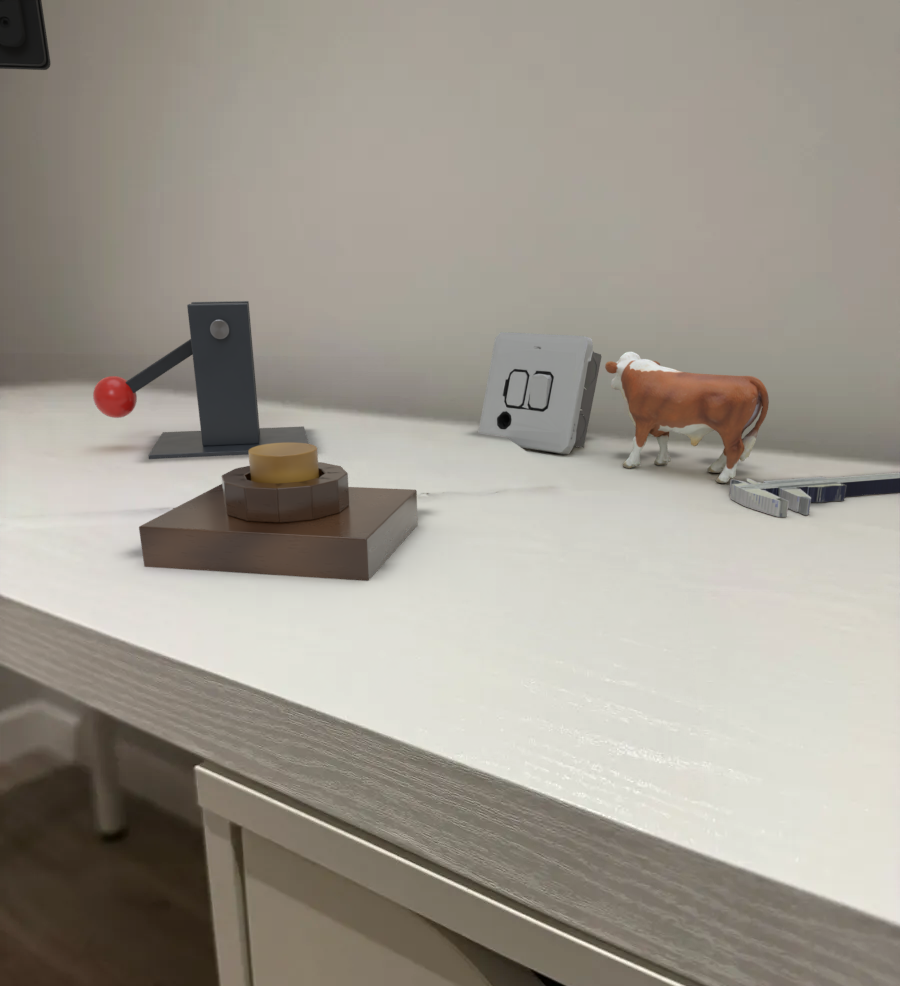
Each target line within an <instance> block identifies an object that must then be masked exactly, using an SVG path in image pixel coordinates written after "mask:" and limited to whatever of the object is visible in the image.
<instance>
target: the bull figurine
mask: <svg viewBox="0 0 900 986" xmlns="http://www.w3.org/2000/svg"><path fill="white" fill-rule="evenodd" d="M604 368H605V371H606V372H607V373H609V374H615V376H614V378H612V379H611V381H610V388H611V389H614V390H615V391H620V393H621V395H622V399H624V401H625V402H626V405H627V414H628V417H629V419H630V420H631V422H632V424H633V426H634V428H635V432H634V433H635V434H634V437H633V439H632V449H631V452H630V454H629V455H628V458H626V460H625V461H624V462H623V463H622V464H621V465H622V467H623V468H625V469H632V468H635V467H636V466H640V465H641V462H642V461H641V452H642V450H643V448H644V447H645V445H647V440H648V437H651V438H656V441H657V444H658V446H659V447H658V448H659V451H658V455H657V456H656V458H655V461H654V462H653V464H654V465H657V466H664V465H667V464H668V463H670V462H672V457H671V455H670V452H669V449H668V442H669V440H670V432H673V433H676V434H680V435H683V436H686V437H687V438H689V440H690V445H691V446H693V447H696V446H698V445H699V443H700V442H701V441H702V439H703V438H704V437H705V436H706V435H708V434H710V433H712V432H713V431H715V432H717V434H718V435H719V436H720V438H721V441H722V444H723V447H724V448H723V450H722V452H721V454H720V456H719V457H718V458H717V459H716V460H715V461H714V462H713V463H712V464H711V465H710V466H708V468H707V472H708V473H713V474H719V473H720V474H719V476H717V478H716V479H715V482H716V483H719V484H727V483H729V482H730V480H731V479H734V478H735V477H736V475H737V467H738V464H739V462H744V461H745V460H747V458H749V457H750V455H751V452H752V451H753V448H754V446H755V443H756V441H757V438H758V432H759V430H760V427H762V424H763V423H764V422H765V419H766V417H767V414H768V410H769V403H770V401H769V394H768V393H769V392H768V390H767V388H766V386H765V384H764V382H762V381H761V380H760V379H759V378H758V377H756V376H753V375H730V374H713V373H711V374H710V373H695V372H687V371H681V370H678V369H675V368H672V367H667V366H662V365H661V363H660V362H659V361H658V360H657V361H656V360H651V359H648V358H641V356H640V355H639V354H638V353H636V352H634V351H625V353H623V354H622V355H621V356H619V359H618V360H617V361H607V362H606V363H605V365H604ZM758 416H759V417H758ZM756 419H757V420H756ZM755 420H756V422H755V423H754V421H755ZM753 423H754V426H753V427H752V429H751V430H749V432H747V433H746V434H745V435H744V437H743V434H744V432H745V431H746V430H747V429H748V428H749V427H750V426H752V424H753Z"/></svg>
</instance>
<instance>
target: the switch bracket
mask: <svg viewBox="0 0 900 986" xmlns="http://www.w3.org/2000/svg"><path fill="white" fill-rule="evenodd" d="M186 306H187V307H186V308H187V315H188V317H187V318H188V326H189V334H190V339H191V345H192V361H193V372H194V379H195V380H194V381H195V389H196V397H197V407H198V417H199V426H200V430H184V431H163V432H162V433H160V435H159V437H158V439H157V440H156V443H155V444H154V445H153V447H152V449H151V450H150V452H149V454H148V460H160V459H162V460H163V459H164V460H165V459H180V458H181V459H182V458H183V459H184V458H185V459H186V458H204V457H207V458H208V457H226V456H245V455H246V456H249V453H248V451H249V449H251V448H253V447H255V446H259V445H264V444H272V443H306V444H309V440H308V437H307V433H306V429H305V426H304V425H303V426H301V425H300V426H278V427H277V426H276V427H260V418H259V416H260V415H259V407H258V406H259V405H258V394H257V382H256V371H255V361H254V360H255V359H254V348H253V338H252V337H253V335H252V324H251V313H250V312H251V311H250V302H249V300H232V301H231V300H230V301H229V300H228V301H227V300H226V301H223V300H222V301H219V300H218V301H191V302H190V303H188V304H187V305H186Z"/></svg>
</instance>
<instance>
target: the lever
mask: <svg viewBox="0 0 900 986" xmlns="http://www.w3.org/2000/svg"><path fill="white" fill-rule="evenodd" d="M191 356H193V354H192V345H191V338H190V339H187V340H186V341H185V342H183V343H182V344H181V345H179V346H178V347H176V348H175V349H173V350H171V351H170V352H168V353H167V354H165V355H164V356H162V357H161V358H159V359H158V360H156V361H154V362H153V363H152V364H150V365H149V366H147V367H146V368H143V370H141V371H139V372H138V373H137V374H135V375H134V376H132V377H131V378H129V379H125V378H124V377H121V376H118V375H117V376H116V375H110V376H105V377H103V378H101V379H100V380H99V381H98V382H97V383H96V384H95V386H94V389H93V392H92V397H93V398H92V399H93V402H94V405H95V407H96V408H97V409H98V411H99V412H100V413H102V414H103V415H105V416H107V417H109V418H112V419H119V418H120V419H121V418H124V417H126V416H128V415H130V414H131V413H132V412H133V411H134V410H135V408H136V406H137V401H138V396H137V392H138V391H139V390H141V389H143V388H144V387H146V386H147V385H149V384H151V382H153V381H155V380H156V379H158V378H159V377H161V376H162V375H164V374H166V373H167V372H169V371H170V370H171V369H174V367H177V365H179V364H181V363H182V362H184V361H185V360H187V359H188V358H189V357H191Z"/></svg>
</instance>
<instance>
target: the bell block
mask: <svg viewBox="0 0 900 986" xmlns="http://www.w3.org/2000/svg"><path fill="white" fill-rule="evenodd" d="M318 467H319V478H316V479H311V480H307V481H302V482H291V483H258V482H254V481H251V475H250V465H246V466H241V467H236V468H233V469H231V470H229V471H228V472H226V473H224V474H222V475H221V483H220V484H218V485H217V486H215V487H213V488H210V489H209V490H207V491H205V492H203V493H201V494H199V495H197V496H195V497H194V498H191V499H189V500H187V501H186V502H184V503H182V504H179V505H177V506H176V507H174V508H172V509H170V510H168V511H166V512H164V513H163V514H161V515H158V516H157V517H155V518H153V519H150V520H149V521H147V522H145V523H143V524H141V525H139V527H138V530H139V531H138V532H139V538H140V547H141V553H142V559H143V567H145V568H156V569H157V568H161V569H176V570H189V571H190V570H191V571H205V572H221V573H237V574H239V573H240V574H254V575H270V576H286V577H298V578H299V577H301V578H318V579H331V580H346V581H347V580H348V581H364V582H368V581H370V580H371V579H372V577H373V576H375V574H377V572H378V571H379V570H380V568H381V567H382V566H383V565H384V564H385V563H386V562H387V561H388V560H389V558H390V557H391V556H392V555H393V554H394V553H395V551H396V550H397V549H398V548H399V547H400V546H401V544H402V543H403V542H404V541H405V540H406V539H407V538H408V536H409V535H410V534H412V532H413V531H414V530H415V529H416V528H417V527H418V492H417V489H411V488H410V489H408V488H387V487H385V488H384V487H361V486H360V487H359V486H349V474H348V472H347V471H346V470H345V469H344V468H343V467H342V465H338V464H337V465H336V464H332V463H327V462H322V461H320V462H319V461H318Z"/></svg>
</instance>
